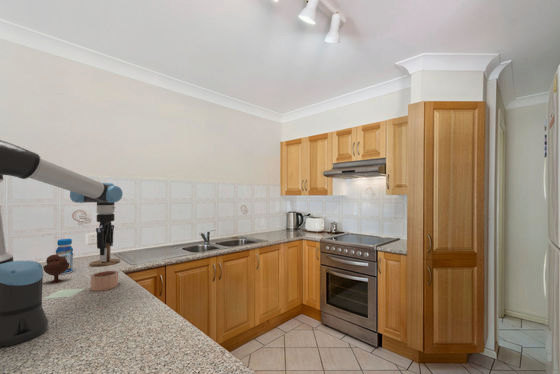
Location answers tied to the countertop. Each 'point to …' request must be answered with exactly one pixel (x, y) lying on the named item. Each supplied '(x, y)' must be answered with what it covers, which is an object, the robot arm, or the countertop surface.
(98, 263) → the lid
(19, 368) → the countertop surface
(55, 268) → the brown tree figurine
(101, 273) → the bowl
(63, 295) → the trivet
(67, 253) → the beverage bottle
